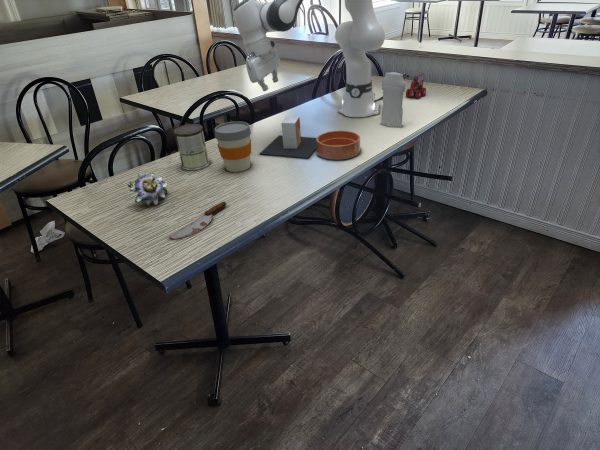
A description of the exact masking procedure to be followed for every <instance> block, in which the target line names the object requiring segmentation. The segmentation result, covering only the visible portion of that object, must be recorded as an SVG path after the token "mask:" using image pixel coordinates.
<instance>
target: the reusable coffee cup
mask: <svg viewBox="0 0 600 450" xmlns="http://www.w3.org/2000/svg"><path fill="white" fill-rule="evenodd" d="M251 135H252V132H251V126H250V124H249V123H248V122H245V121H227V122H223V123H221V124H218V125H217V126H215V128H214V137H215V140H216V141H217V144H216V145H217V149H218V151H219V154H220V157H221V158H222V160H223V165H224V167H225V169H226V171H228V172H231V173H240V172H244V171H246V170H248V169H249V168H251V154H252V139H251Z"/></svg>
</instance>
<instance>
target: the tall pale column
mask: <svg viewBox="0 0 600 450" xmlns="http://www.w3.org/2000/svg"><path fill="white" fill-rule="evenodd" d="M403 75H404V74H402V73H399V72H395V71H392V72H385V73H384V78H383V79H382V80H381V90H382V96H383V99H382V106H381V118H380V119H381V121H380V122H381V123H380V124H381V125H383V126H387V127H389V128H390V127H392V128H403V127H402V126H403V116H404V115H403V112H404V110H403V101H404V95H405V94H404V93H406V84H407V83H406V82H405V81H404V77H403Z"/></svg>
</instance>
